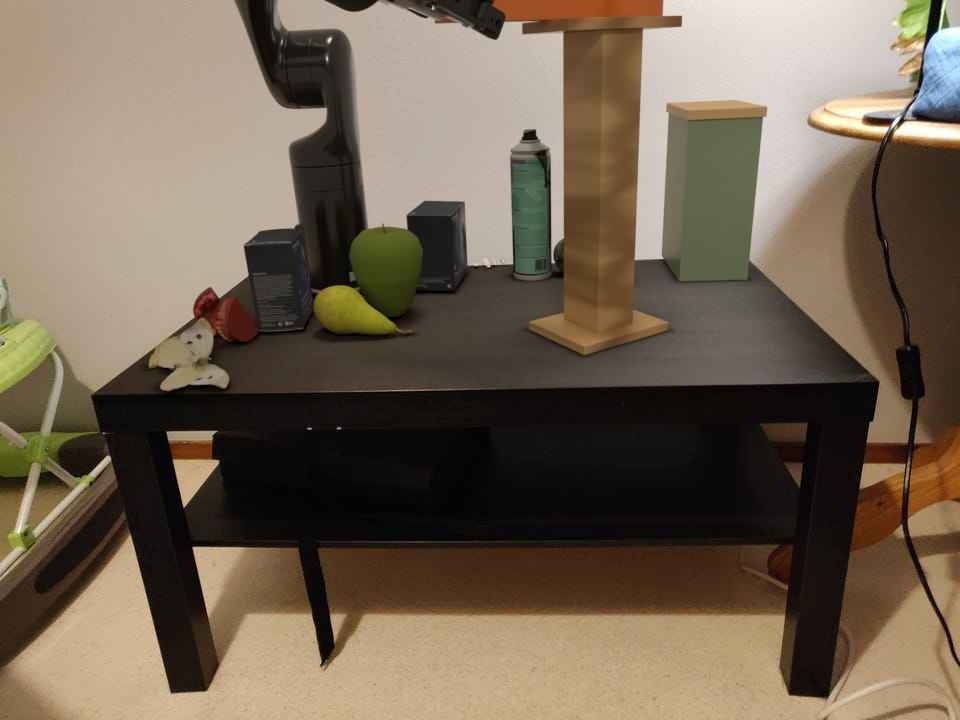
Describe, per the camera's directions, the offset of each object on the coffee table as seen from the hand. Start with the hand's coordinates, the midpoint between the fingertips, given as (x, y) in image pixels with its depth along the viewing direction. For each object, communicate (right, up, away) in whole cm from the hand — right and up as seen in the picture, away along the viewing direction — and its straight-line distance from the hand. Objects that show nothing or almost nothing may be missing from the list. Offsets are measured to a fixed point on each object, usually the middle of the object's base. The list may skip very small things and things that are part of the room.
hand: (463, 16), depth 63 cm
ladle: (+8, +2, +5) cm, 10 cm away
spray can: (+9, -18, +41) cm, 46 cm away
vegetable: (+18, -12, +41) cm, 46 cm away
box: (-22, -25, +27) cm, 43 cm away
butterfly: (-30, -28, +11) cm, 43 cm away
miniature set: (0, -15, +46) cm, 48 cm away
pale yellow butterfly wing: (-35, -28, +19) cm, 49 cm away
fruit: (-18, -23, +22) cm, 37 cm away
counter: (+33, -16, +41) cm, 55 cm away
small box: (-4, -19, +40) cm, 45 cm away
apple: (-9, -24, +27) cm, 38 cm away
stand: (+15, -26, +20) cm, 36 cm away
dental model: (-25, -26, +19) cm, 41 cm away
